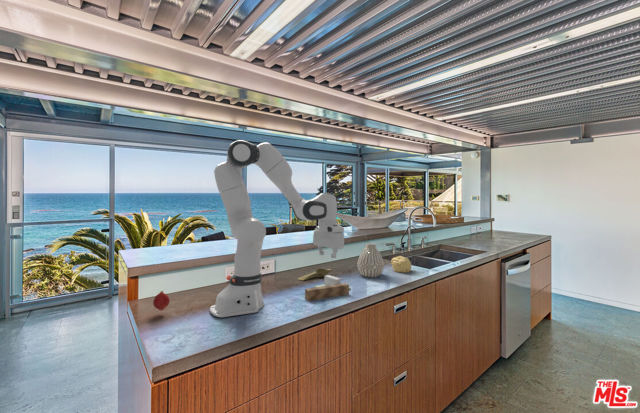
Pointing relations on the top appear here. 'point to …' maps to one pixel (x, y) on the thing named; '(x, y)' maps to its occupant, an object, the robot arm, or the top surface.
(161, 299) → the onion
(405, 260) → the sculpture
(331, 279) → the white piece
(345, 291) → the walnut bar
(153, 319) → the top surface
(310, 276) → the tool
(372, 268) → the vase
